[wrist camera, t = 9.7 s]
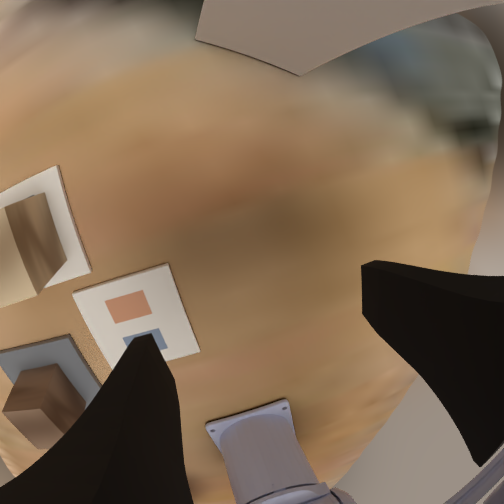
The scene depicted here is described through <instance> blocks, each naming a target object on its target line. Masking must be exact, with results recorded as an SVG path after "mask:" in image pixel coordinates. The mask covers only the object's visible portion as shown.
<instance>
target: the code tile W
mask: <svg viewBox="0 0 504 504" xmlns="http://www.w3.org/2000/svg"><path fill="white" fill-rule="evenodd" d="M72 296H73V298H74V300H75V302H76V304H77V306H78V308H79V310H80V312H81V314H82V316H83V318H84V320H85V322H86V324H87V326H88V328H89V330H90V332H91V334H92V335H93V337H94V339H95V341H96V343H97V344H98V346H99V348H100V350H101V351H102V353H103V355H104V357H105V358H106V360H107V362H108V363H109V365H110V366H111V368H112V370H113V369H114V367H115V366H116V364H117V362H118V361H119V359H120V358H121V356H122V355H123V353H124V351H125V350H126V348H127V347H128V345H129V344H130V342H131V341H132V340H133V338H134V337H138V336H142V335H146V334H149V333H152V335H153V337H154V339H155V341H156V343H157V346H158V348H159V350H160V352H161V354H162V356H163V358H164V360H165V361H169V360H173V359H176V358H180V357H184V356H187V355H191V354H195V353H198V352H201V351H200V347H199V345H198V342H197V340H196V337H195V335H194V332H193V330H192V327H191V325H190V322H189V320H188V317H187V314H186V312H185V309H184V306H183V304H182V301H181V298H180V295H179V293H178V290H177V287H176V284H175V281H174V278H173V275H172V273H171V270H170V267H169V264H168V263H166V264H163V265H159V266H156V267H153V268H149V269H146V270H143V271H139V272H136V273H133V274H129V275H126V276H123V277H119V278H116V279H113V280H110V281H106V282H103V283H100V284H97V285H93V286H90V287H87V288H84V289H80V290H77V291H74V292H73V293H72Z"/></svg>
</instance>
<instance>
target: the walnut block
mask: <svg viewBox="0 0 504 504" xmlns="http://www.w3.org/2000/svg"><path fill="white" fill-rule="evenodd" d="M85 406H86V401H85V400H84V399H83V397H82V396H81V395H80V394H79V392H78V391H77V390H76V388H75V387H74V386H73V384H72V383H71V382H70V380H69V379H68V378H67V376H66V375H65V374H64V372H63V371H62V369H61V368H60V366H59V365H58V363H55V364H51V365H47V366H42V367H38V368H33V369H28V370H24V371H21V372H20V374H19V376H18V378H17V380H16V382H15V384H14V386H13V388H12V390H11V392H10V394H9V397H8V399H7V401H6V403H5V406H4V408H3V410H2V413H3V414H4V415H5V416H6V417H7V418H8V420H9V421H10V422H11V423H12V424H13V425H14V426H15V427H16V428H17V429H18V430H19V431H20V432H21V433H22V434H23V435H24V436H25V437H26V438H27V439H28V440H29V441H30V442H31V443H32V444H33V445H34V446H35V447H36V448H37V449H50V448H51V447H52V446H53V445H54V444H55V443H56V442H57V441H58V440H59V439H60V438H61V437H62V436H63V435H64V434H65V433H66V432H67V431H68V430H69V429H70V428H71V427H72V425H73V424H74V423H75V422H76V421H77V419H78V418H79V417H80V416H81V415H82V413H83V412H84V411H85Z"/></svg>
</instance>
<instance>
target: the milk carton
mask: <svg viewBox="0 0 504 504" xmlns="http://www.w3.org/2000/svg"><path fill="white" fill-rule="evenodd" d="M499 3H504V0H204V3H203V6H202V10H201V14H200V19H199V23H198V27H197V31H196V36H195V39H196V40H199V41H202V42H206V43H210V44H213V45H217V46H220V47H223V48H227V49H230V50H233V51H236V52H239V53H242V54H245V55H248V56H251V57H254V58H256V59H259V60H262V61H264V62H267V63H270V64H272V65H275V66H277V67H280V68H282V69H285V70H287V71H289V72H292V73H294V74H296V75H299V76H302V75H304V74H306V73H307V72H309V71H311V70H313V69H315V68H317V67H319V66H321V65H323V64H325V63H327V62H329V61H331V60H333V59H335V58H337V57H339V56H341V55H343V54H345V53H347V52H350V51H352V50H354V49H356V48H358V47H361V46H363V45H365V44H368V43H370V42H372V41H375V40H377V39H380V38H382V37H384V36H387V35H390V34H392V33H395V32H397V31H400V30H403V29H406V28H408V27H411V26H414V25H417V24H420V23H423V22H426V21H429V20H432V19H436V18H439V17H442V16H446V15H449V14H453V13H457V12H461V11H465V10H469V9H473V8H477V7H482V6H487V5H493V4H499Z"/></svg>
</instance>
